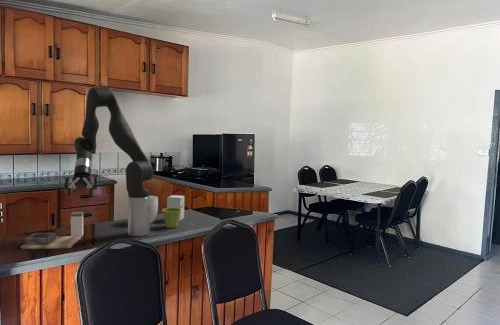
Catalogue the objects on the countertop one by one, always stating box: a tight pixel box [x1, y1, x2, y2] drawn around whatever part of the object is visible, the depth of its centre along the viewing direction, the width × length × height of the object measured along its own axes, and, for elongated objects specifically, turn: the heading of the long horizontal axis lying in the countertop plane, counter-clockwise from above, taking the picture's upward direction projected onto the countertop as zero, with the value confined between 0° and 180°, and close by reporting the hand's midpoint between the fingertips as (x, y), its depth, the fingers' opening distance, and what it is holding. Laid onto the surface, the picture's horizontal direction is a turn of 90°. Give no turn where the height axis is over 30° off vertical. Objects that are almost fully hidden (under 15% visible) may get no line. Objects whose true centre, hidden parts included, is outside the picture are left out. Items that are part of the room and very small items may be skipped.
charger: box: [70, 211, 84, 238], centre depth 167 cm, size 4×4×10 cm
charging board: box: [20, 232, 82, 250], centre depth 154 cm, size 18×14×4 cm
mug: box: [149, 195, 159, 224], centre depth 193 cm, size 15×11×13 cm
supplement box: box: [166, 194, 185, 222], centre depth 203 cm, size 7×7×13 cm
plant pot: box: [161, 207, 182, 229], centre depth 187 cm, size 9×9×9 cm
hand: (79, 196), depth 177 cm, fingers open, 8 cm apart
